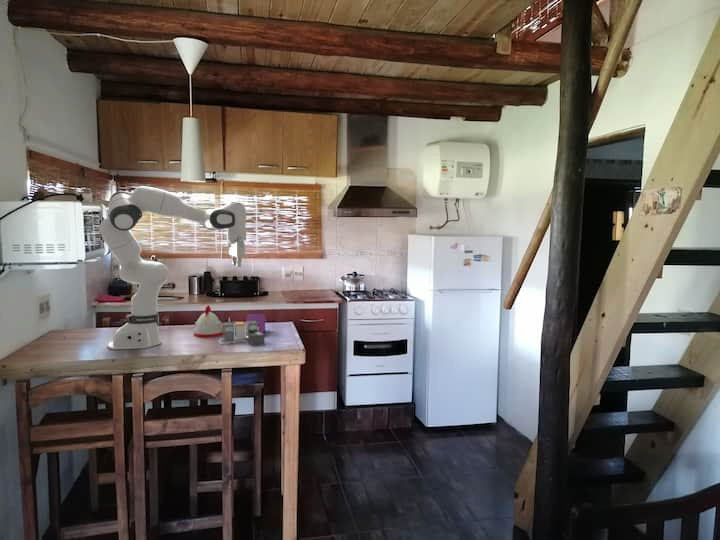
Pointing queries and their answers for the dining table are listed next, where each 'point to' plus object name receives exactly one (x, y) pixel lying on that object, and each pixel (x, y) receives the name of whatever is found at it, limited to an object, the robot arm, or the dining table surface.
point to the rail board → (229, 332)
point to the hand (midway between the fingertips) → (236, 266)
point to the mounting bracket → (258, 321)
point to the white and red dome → (208, 325)
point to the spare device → (256, 339)
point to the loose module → (239, 330)
